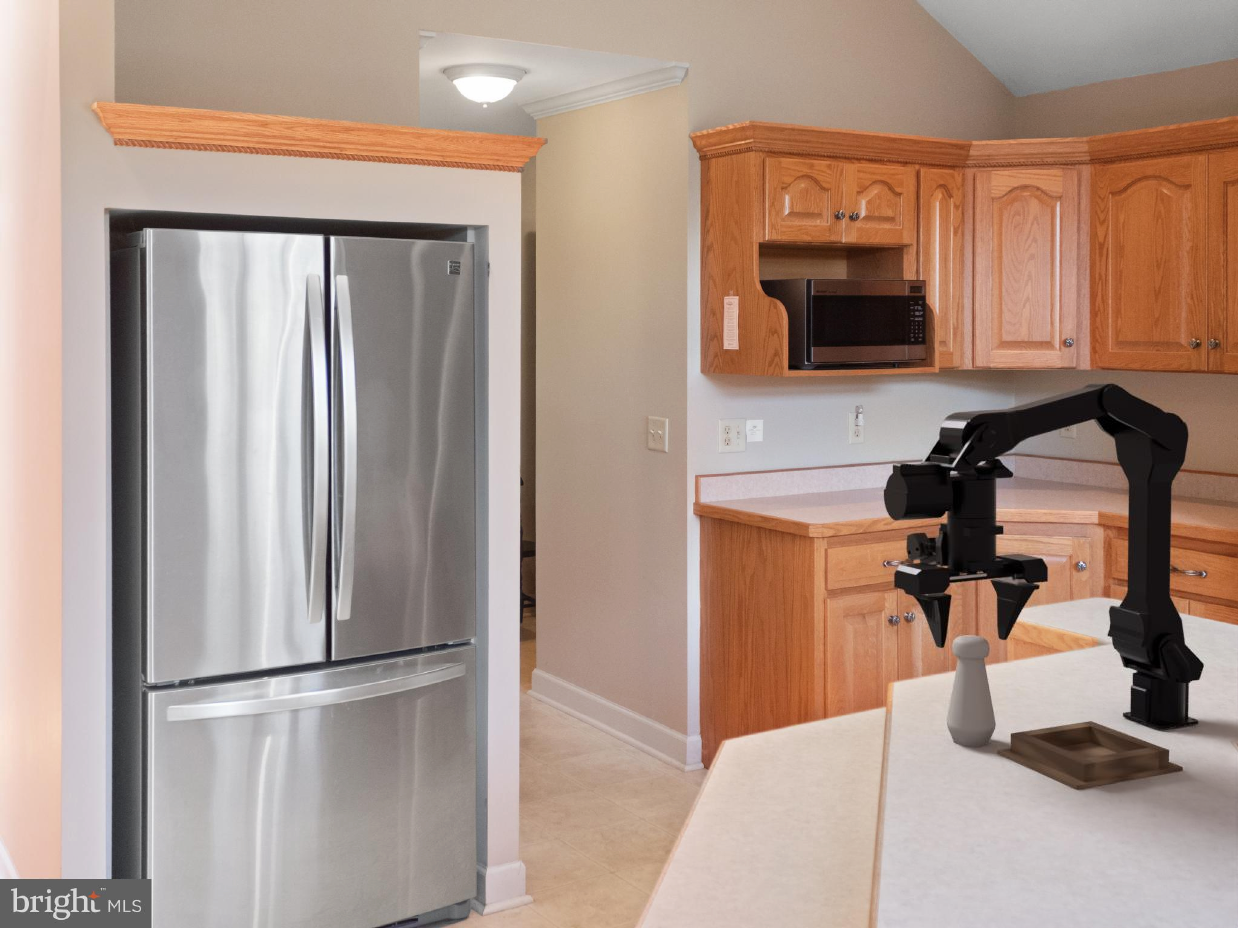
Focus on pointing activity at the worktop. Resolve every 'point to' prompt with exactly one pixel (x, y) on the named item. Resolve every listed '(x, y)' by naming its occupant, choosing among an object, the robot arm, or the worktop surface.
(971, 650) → the salt shaker
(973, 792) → the worktop surface
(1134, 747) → the brown flat rectangular frame
